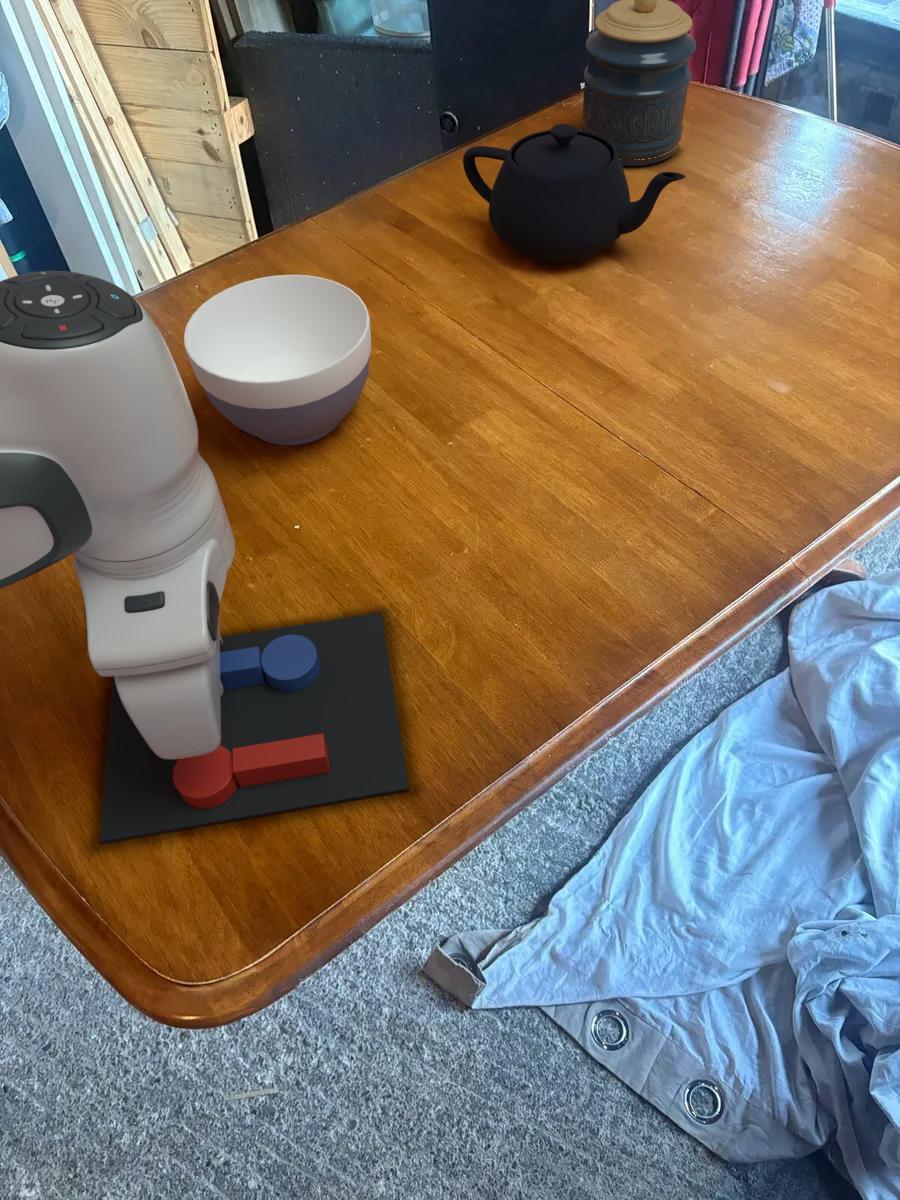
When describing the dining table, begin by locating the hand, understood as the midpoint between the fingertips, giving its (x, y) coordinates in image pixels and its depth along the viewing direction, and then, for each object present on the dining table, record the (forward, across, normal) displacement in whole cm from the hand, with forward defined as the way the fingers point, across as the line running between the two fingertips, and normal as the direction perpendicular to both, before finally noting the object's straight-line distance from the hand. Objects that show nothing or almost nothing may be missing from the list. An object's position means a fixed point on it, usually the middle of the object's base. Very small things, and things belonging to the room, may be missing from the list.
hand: (211, 671), depth 63 cm
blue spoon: (+1, 0, +2) cm, 3 cm away
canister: (+2, -74, +54) cm, 92 cm away
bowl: (+2, -30, +8) cm, 30 cm away
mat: (+2, +4, +2) cm, 5 cm away
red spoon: (+1, +8, +2) cm, 8 cm away
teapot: (+2, -54, +40) cm, 67 cm away
